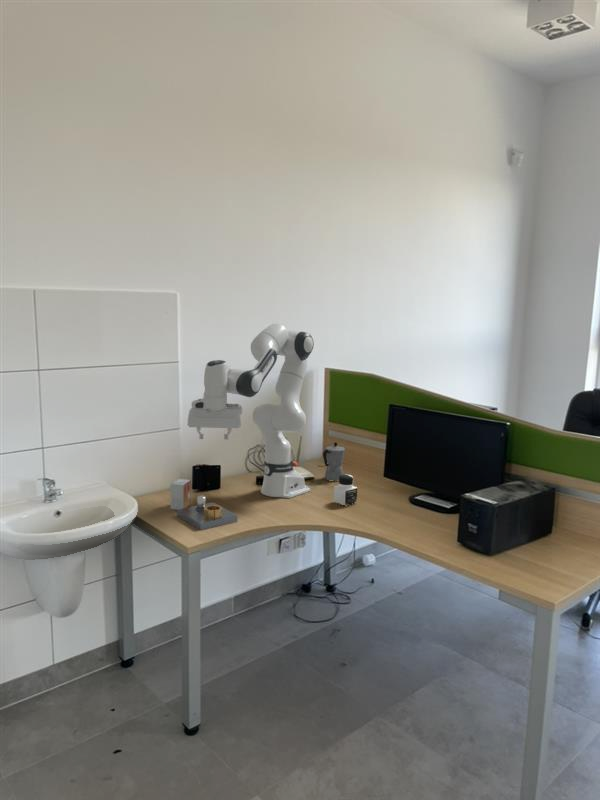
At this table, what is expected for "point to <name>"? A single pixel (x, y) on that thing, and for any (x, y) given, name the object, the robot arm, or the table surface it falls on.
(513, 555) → the table surface
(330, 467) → the coffeepot
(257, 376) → the robot arm
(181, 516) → the block
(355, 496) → the medicine bottle
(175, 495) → the small box
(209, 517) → the ring
